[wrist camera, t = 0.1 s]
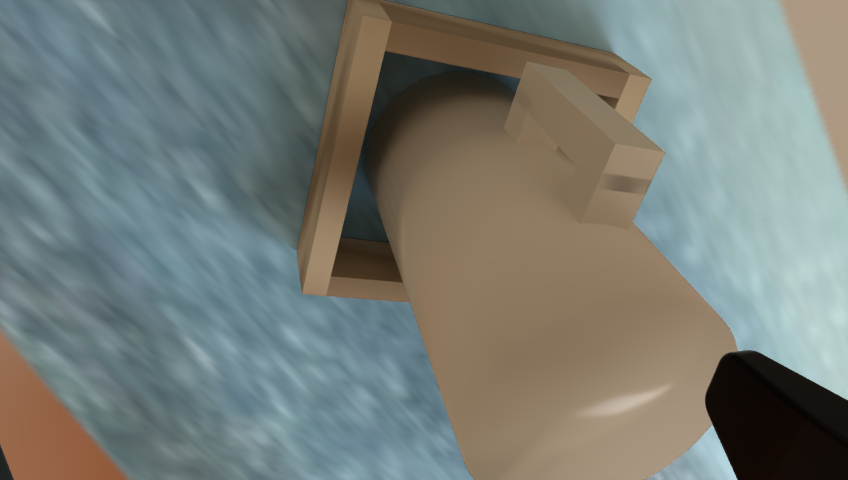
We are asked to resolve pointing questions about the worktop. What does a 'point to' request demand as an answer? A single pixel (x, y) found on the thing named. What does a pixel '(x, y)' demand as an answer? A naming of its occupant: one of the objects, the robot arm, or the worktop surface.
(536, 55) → the holder
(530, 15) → the worktop surface
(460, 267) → the jug
